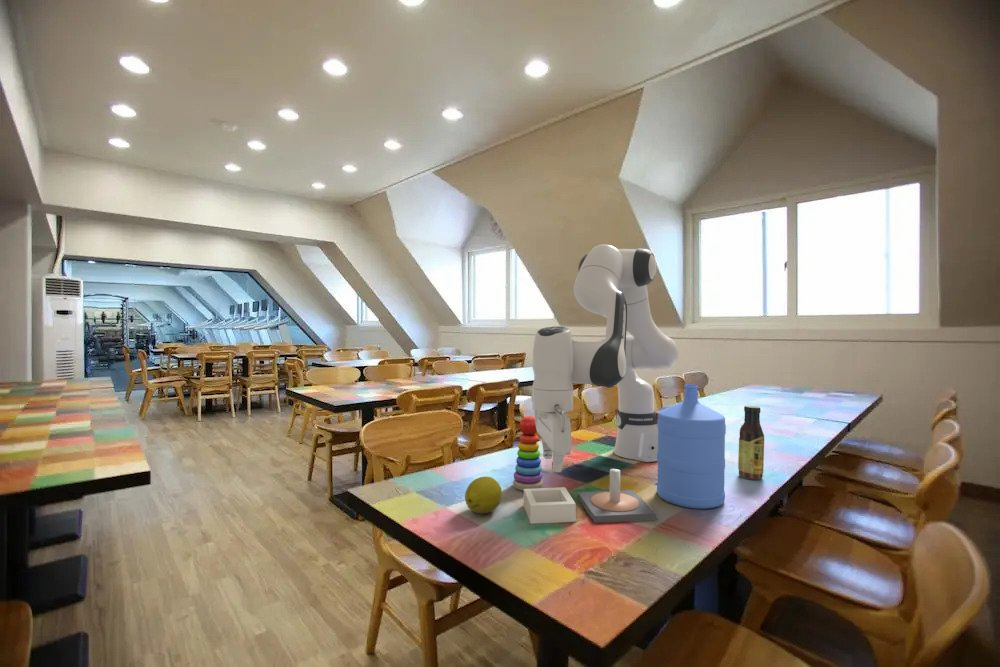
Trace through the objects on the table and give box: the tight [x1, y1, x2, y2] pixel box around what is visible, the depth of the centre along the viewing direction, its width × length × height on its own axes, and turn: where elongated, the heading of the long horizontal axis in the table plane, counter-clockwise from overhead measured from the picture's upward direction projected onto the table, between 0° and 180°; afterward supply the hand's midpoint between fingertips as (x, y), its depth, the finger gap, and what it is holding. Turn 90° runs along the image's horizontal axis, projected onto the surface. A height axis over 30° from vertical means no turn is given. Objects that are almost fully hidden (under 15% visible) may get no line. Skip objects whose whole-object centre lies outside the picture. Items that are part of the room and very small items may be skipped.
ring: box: [523, 486, 577, 525], centre depth 107 cm, size 10×10×4 cm
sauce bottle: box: [737, 405, 765, 481], centre depth 130 cm, size 6×6×20 cm
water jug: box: [656, 384, 727, 510], centre depth 115 cm, size 16×16×28 cm
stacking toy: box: [512, 415, 544, 492], centre depth 123 cm, size 8×8×19 cm
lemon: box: [464, 476, 503, 515], centre depth 107 cm, size 11×8×8 cm
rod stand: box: [577, 468, 657, 524], centre depth 109 cm, size 14×14×9 cm
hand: (552, 464), depth 102 cm, fingers open, 8 cm apart
